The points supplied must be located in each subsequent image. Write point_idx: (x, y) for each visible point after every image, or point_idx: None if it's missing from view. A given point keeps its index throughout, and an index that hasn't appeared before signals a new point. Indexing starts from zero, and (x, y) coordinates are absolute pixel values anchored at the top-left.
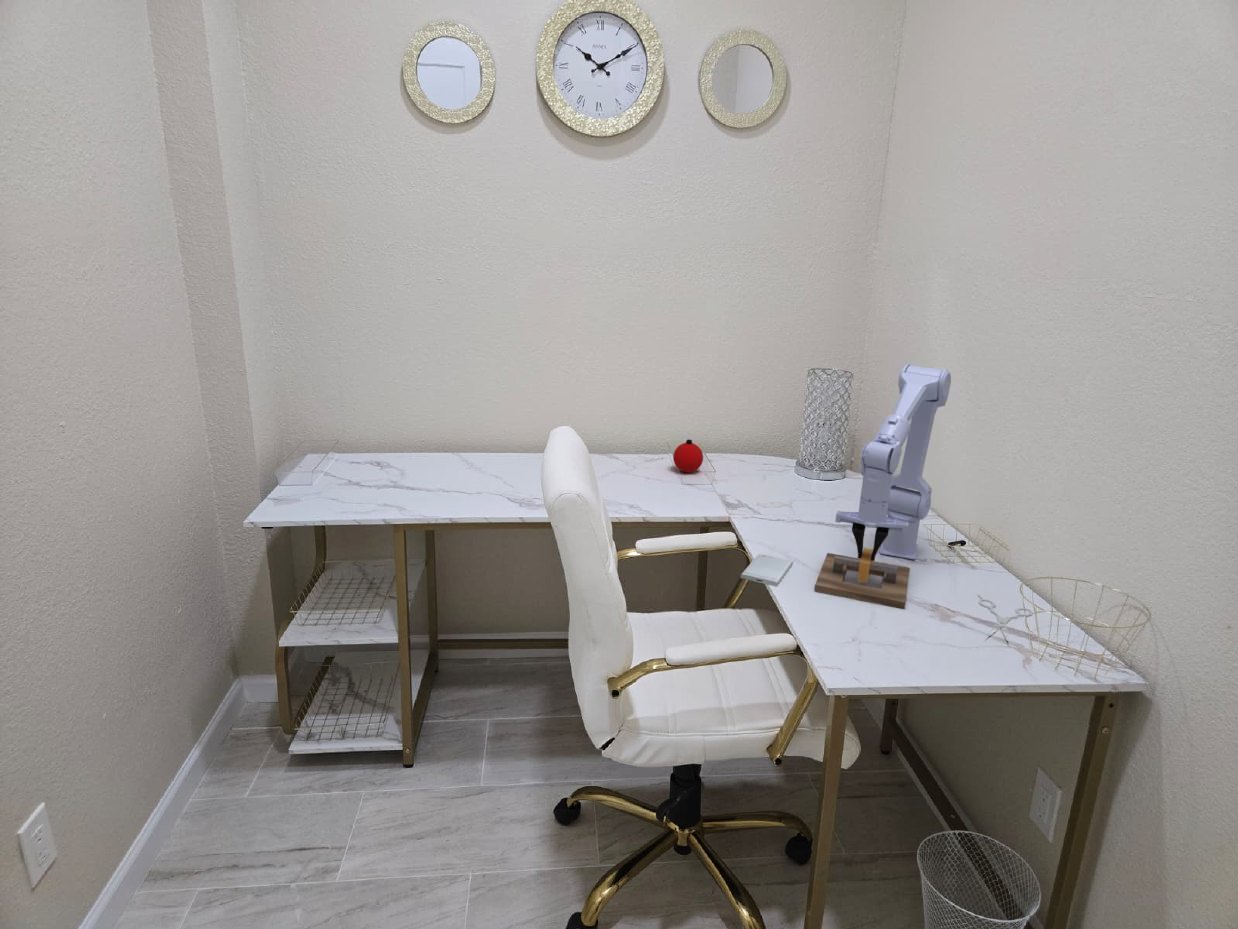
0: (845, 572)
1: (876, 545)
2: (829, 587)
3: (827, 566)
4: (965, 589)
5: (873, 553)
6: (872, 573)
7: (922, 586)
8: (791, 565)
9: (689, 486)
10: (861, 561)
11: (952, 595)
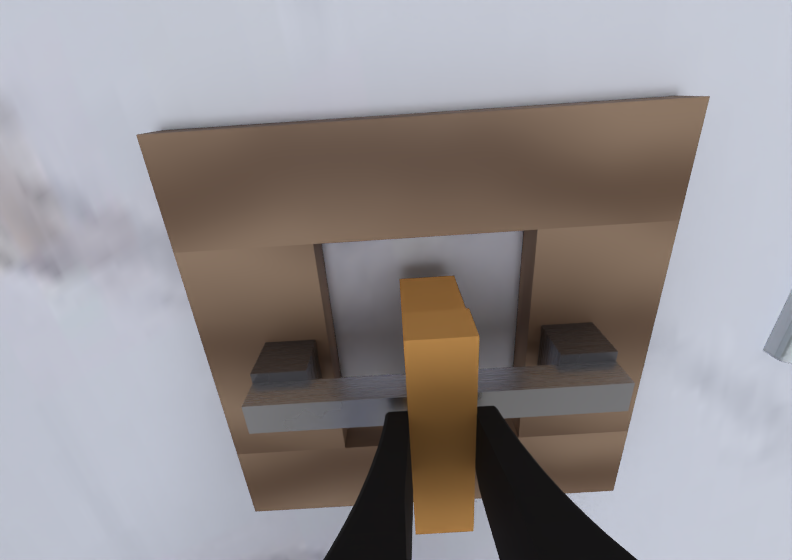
0: None
1: (379, 520)
2: (614, 105)
3: None
4: (28, 461)
5: (396, 450)
6: None
7: (180, 412)
8: (783, 331)
9: None
10: (468, 349)
11: (41, 392)
